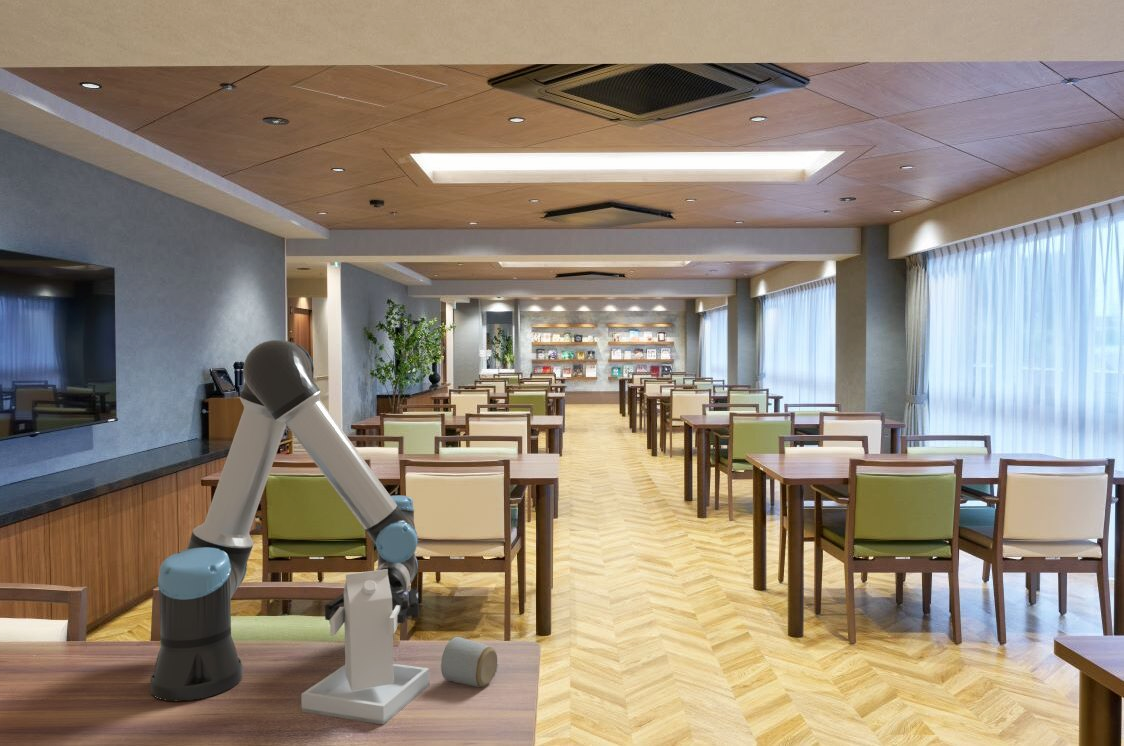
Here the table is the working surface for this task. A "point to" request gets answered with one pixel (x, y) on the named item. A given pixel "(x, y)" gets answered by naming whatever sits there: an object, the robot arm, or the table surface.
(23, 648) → the table surface
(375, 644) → the milk carton
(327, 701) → the tray
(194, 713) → the table surface
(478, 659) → the ceramic mug
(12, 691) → the table surface
